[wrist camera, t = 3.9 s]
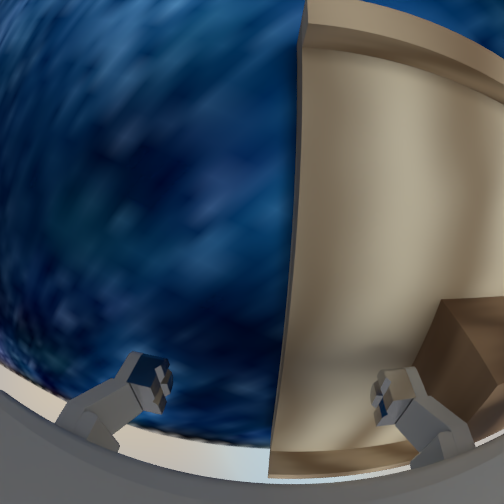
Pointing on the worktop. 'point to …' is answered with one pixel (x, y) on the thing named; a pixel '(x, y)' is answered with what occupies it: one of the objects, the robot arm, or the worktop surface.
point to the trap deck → (380, 221)
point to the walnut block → (467, 361)
